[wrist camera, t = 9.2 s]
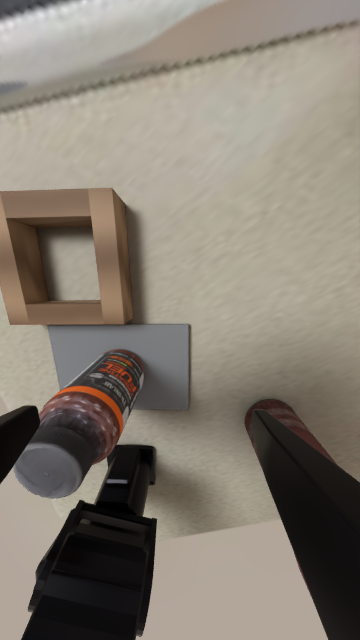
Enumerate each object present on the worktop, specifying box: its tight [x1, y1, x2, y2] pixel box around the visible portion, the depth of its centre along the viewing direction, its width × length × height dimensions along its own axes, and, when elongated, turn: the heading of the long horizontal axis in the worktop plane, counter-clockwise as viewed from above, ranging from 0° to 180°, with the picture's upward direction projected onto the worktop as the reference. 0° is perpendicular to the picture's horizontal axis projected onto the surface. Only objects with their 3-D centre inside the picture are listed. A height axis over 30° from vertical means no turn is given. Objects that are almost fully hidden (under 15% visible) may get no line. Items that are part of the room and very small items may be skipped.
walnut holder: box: [0, 188, 133, 325], centre depth 17 cm, size 12×12×3 cm
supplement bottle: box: [13, 349, 145, 499], centre depth 15 cm, size 6×6×11 cm
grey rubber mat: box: [48, 324, 188, 410], centre depth 21 cm, size 11×16×1 cm
